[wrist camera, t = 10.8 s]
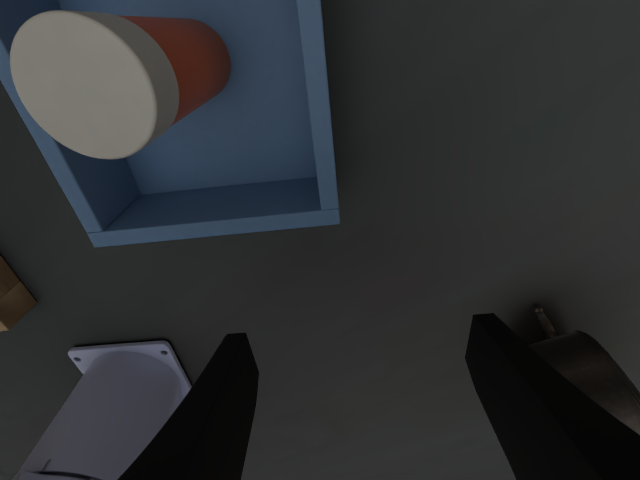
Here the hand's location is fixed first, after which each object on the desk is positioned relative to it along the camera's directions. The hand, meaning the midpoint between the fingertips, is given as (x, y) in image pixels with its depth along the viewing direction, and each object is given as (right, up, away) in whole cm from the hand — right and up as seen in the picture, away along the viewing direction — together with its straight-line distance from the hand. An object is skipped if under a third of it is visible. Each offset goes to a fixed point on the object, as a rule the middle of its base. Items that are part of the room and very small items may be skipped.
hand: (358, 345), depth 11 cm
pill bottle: (-7, +11, +4) cm, 14 cm away
